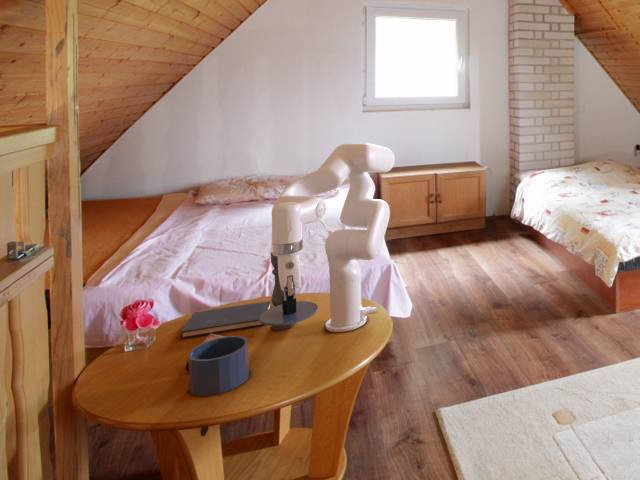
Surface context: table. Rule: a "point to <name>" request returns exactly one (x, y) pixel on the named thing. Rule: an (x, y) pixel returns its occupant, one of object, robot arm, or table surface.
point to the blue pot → (218, 365)
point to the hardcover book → (225, 319)
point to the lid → (278, 318)
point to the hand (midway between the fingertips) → (289, 310)
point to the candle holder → (277, 291)
